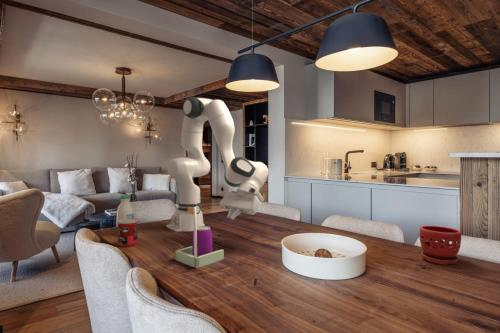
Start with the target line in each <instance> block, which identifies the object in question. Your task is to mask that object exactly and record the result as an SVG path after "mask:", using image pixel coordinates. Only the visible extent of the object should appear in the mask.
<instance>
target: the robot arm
mask: <svg viewBox="0 0 500 333" xmlns="http://www.w3.org/2000/svg"><path fill="white" fill-rule="evenodd" d="M182 111H183V114H184V117H183V121H182V126H181V137H180V144H181V147H182V148H183V149H184V150H186V152H187V157H185V156H182V157H181V156H180V157H175V158H172V159H170V160H169V161H168V162H167V166H166V171H167V173H168V175H169V176H170V177H171V178H172V179H174V181H175V182H176V184H177V187H178V191H179V192H178V193H179V203H178V204H176V207H177V210H176V211H175V212H174V213H173V214H172V215H171V217H170V223H168V224H166V226H165V227H166V228H168V229H170V230H172V231H174V232H177V233H179V232H193V230H194V215H193V214H188V207H196V222H197V226H206V225H205V223H204V217H203V211H202V202H201V189H200V186H198V185H197V184H195V183H194V181H193V178H198V177H199V178H200V177H204V176H206V175H208V174H209V172H210V170H211V163H210V161H209V160H208V159H207V157H206V156H205V154H204V150H203V133H204V132H203V131H204V125H205V122H208V123H209V125H210V128H211V130H212V134H213V136H214V138H215V142H216V144H217V147H218V152H219V154H220V158H221V160H222V165H223V168H224V175H223V177H224V181H225V183H226V184H227V185H228V186H229V187H232V188H237V189H236V190H231V191H229V192H227V193H226V194H225V195H224V196H223V198H222V199H221V200H220V202H219V206H220V207H221V208H222V209H224V210H227V211H228V214H227V218H228V219H230V220H235V218H237V217H238V216H240V214H241V213H243V214H247V215H252V216H254V215H255V214H257V213H258V211H259V209H260V208H261V206H262V203H263V202H264V201H265V200H264V197H263V195H262V194H261V193H260V189H261V188H262V187H263V186H264V184H265V183H266V180H268V176H269V169H268V167H267V165H266V164H265V163H264V162H261V161H252V160H249V159H247V158H245V157H243V156H237V157H236V156H235V153H234V150H233V141H234V140H233V139H234V136H235V131H236V129H235V124H234V119H233V117H232V115H231V113H230V110H229V108H228V107H227V105H226V103H225V102H224V101H223V100H221V99H210V98H206V97H205V98H204V97H195V96H192V97H191V96H190V97H187V98H186V99H185V100H184V102H183V104H182Z"/></svg>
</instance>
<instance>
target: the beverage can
mask: <svg viewBox="0 0 500 333" xmlns="http://www.w3.org/2000/svg"><path fill="white" fill-rule="evenodd" d="M191 232H192V233H191V242H192V243H191V246H192V255H193V256H194V230H193V231H191ZM212 252H213V232H212V230H211V227H210V226H209V225H205V226H197V257H199V256H202V255H205V254H208V253H212Z"/></svg>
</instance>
